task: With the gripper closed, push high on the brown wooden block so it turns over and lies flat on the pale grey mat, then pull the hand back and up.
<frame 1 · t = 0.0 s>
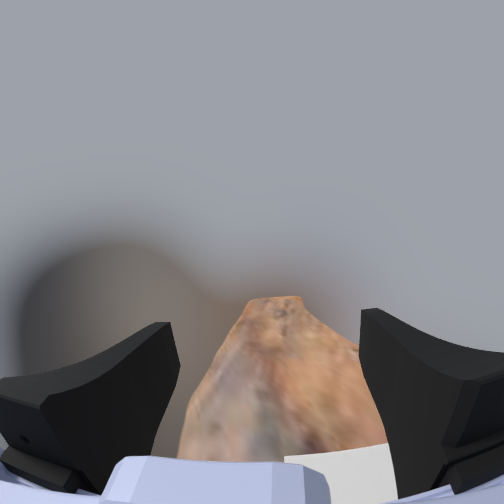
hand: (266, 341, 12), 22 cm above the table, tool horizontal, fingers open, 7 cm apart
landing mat: (380, 496, 21), on the table
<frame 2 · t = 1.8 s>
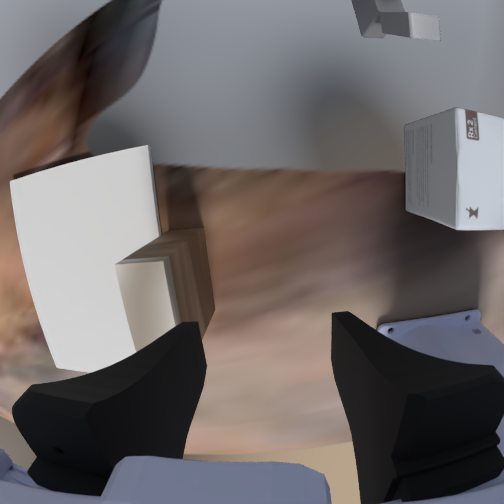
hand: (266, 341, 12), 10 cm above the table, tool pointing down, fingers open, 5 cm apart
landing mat: (88, 277, 23), on the table
skincare box: (439, 168, 19), on the table
lighter: (371, 32, 17), on the table
brown wooden block: (192, 271, 22), on the table
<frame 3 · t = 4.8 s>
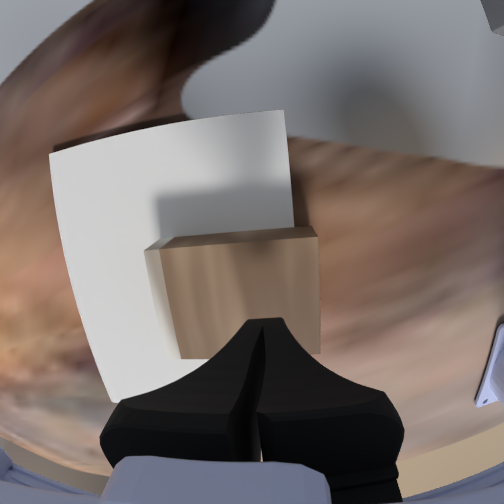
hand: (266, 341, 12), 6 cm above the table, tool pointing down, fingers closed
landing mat: (174, 287, 18), on the table
lighter: (496, 28, 12), on the table
brown wooden block: (316, 289, 16), point 2 cm above the table, tilted 90°, touching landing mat
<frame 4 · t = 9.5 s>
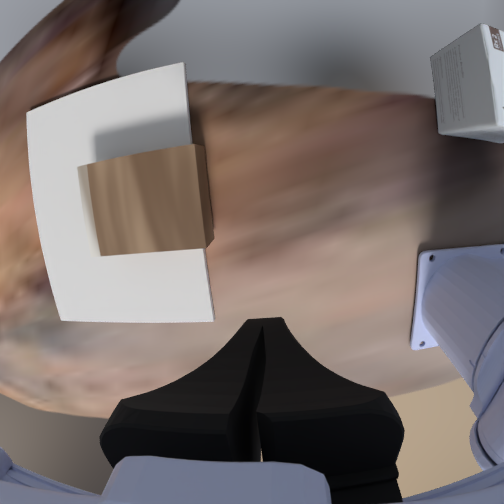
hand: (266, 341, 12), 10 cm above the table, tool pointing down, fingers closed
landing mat: (106, 205, 21), on the table
skincare box: (464, 99, 18), on the table
brown wooden block: (204, 194, 19), point 2 cm above the table, tilted 90°, touching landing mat
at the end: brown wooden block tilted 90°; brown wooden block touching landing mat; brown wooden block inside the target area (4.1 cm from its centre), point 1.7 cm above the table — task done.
